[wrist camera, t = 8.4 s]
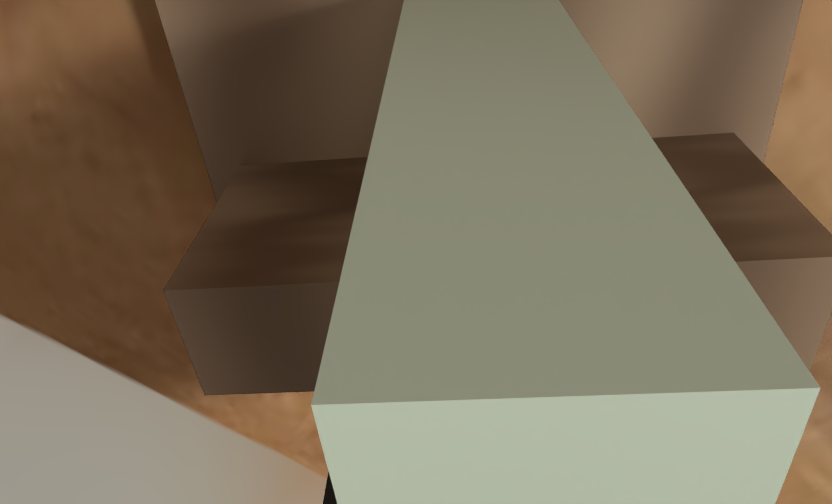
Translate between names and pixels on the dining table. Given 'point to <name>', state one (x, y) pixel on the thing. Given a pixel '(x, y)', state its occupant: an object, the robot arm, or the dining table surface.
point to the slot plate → (352, 135)
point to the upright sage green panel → (540, 293)
